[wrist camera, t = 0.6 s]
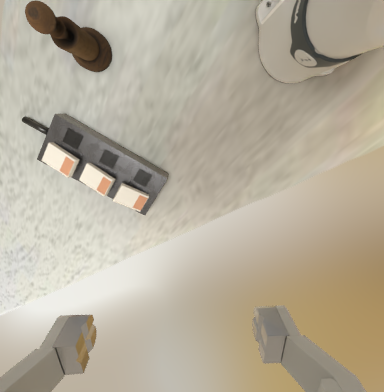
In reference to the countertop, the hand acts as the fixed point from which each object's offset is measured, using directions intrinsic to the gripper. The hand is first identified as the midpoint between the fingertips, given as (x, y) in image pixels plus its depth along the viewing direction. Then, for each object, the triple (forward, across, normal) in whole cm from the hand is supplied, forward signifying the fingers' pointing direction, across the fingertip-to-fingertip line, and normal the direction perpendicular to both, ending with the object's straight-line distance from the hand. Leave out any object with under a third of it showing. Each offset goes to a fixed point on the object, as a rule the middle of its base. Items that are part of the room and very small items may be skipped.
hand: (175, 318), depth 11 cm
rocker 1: (+35, +23, -1) cm, 42 cm away
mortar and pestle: (+41, +15, -20) cm, 48 cm away
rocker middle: (+35, +17, +3) cm, 39 cm away
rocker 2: (+35, +10, +7) cm, 37 cm away
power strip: (+41, +18, 0) cm, 45 cm away
